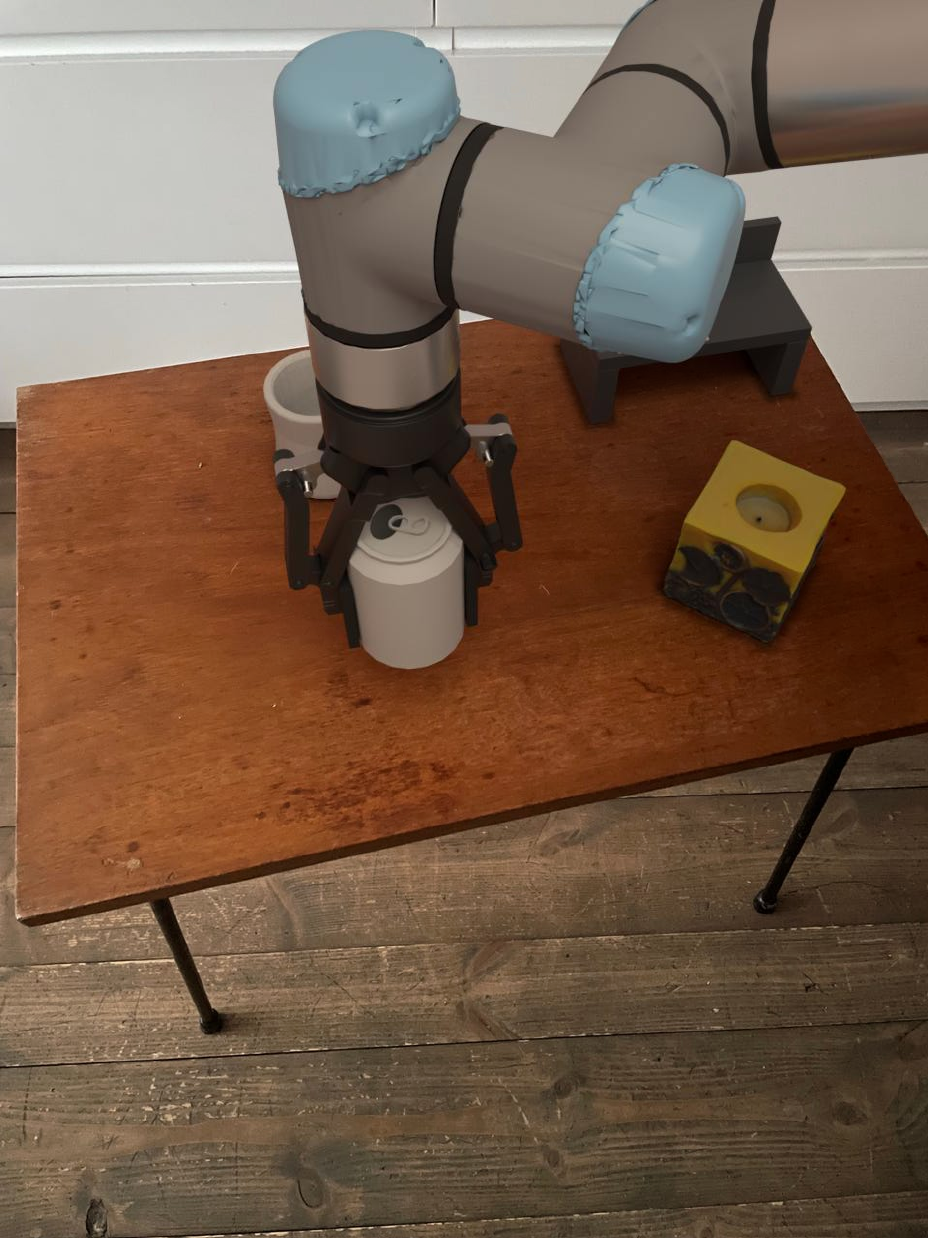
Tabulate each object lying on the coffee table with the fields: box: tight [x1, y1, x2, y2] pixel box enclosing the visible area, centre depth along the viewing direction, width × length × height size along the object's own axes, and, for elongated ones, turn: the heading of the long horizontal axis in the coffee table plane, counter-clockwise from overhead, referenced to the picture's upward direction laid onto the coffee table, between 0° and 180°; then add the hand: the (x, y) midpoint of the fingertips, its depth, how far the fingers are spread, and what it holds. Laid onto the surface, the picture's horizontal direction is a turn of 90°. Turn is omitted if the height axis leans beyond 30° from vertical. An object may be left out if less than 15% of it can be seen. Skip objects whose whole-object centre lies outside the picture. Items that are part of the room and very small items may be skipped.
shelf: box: [559, 216, 813, 425], centre depth 99 cm, size 20×11×12 cm, turn 102°
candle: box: [662, 439, 847, 644], centre depth 85 cm, size 10×10×10 cm
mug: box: [262, 349, 341, 500], centre depth 93 cm, size 12×9×10 cm
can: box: [347, 496, 466, 670], centre depth 69 cm, size 8×8×12 cm
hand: (410, 621), depth 73 cm, fingers closed on can, 7 cm apart
